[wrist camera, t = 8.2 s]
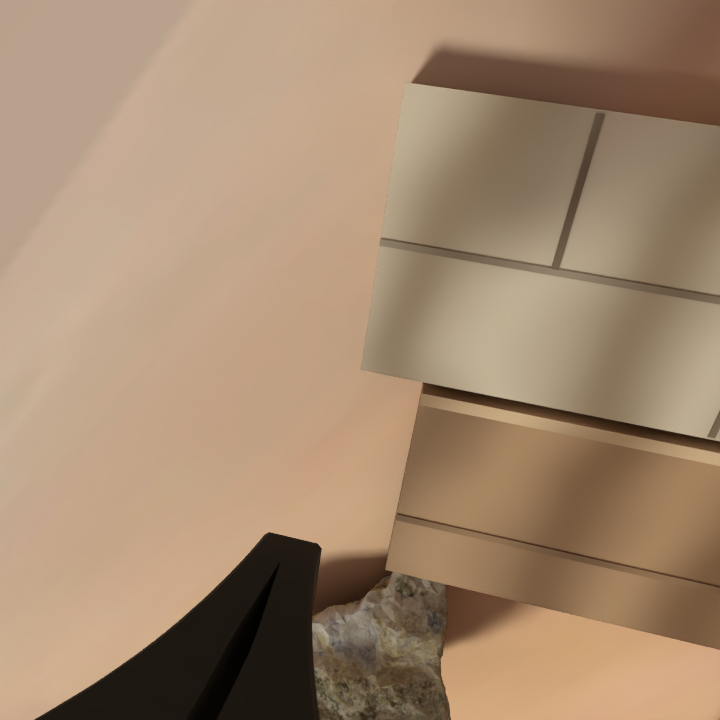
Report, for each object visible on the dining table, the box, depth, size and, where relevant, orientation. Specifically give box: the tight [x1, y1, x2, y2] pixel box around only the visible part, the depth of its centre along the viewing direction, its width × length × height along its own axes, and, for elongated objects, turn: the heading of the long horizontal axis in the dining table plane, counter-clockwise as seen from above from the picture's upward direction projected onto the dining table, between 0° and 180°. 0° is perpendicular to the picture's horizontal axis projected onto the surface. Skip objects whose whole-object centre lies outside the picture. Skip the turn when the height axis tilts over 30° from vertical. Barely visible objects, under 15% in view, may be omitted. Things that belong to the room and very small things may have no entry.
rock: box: [312, 572, 451, 720], centre depth 25 cm, size 11×6×10 cm
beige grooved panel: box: [361, 82, 720, 441], centre depth 18 cm, size 20×10×2 cm, turn 82°
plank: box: [385, 382, 720, 650], centre depth 22 cm, size 15×9×2 cm, turn 82°
